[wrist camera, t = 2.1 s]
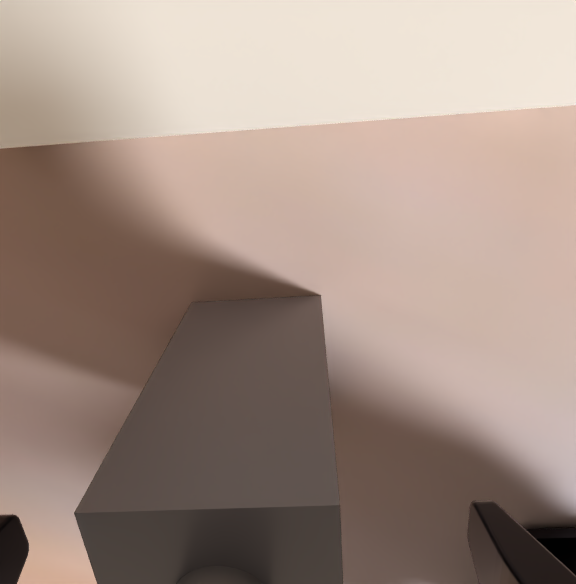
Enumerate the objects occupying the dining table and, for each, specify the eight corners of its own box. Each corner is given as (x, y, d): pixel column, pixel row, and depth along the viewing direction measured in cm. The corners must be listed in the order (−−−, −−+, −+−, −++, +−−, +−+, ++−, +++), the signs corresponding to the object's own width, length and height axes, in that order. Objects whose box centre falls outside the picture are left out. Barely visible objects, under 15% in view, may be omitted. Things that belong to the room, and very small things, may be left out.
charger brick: (320, 295, 14) (349, 608, 5) (326, 404, 16) (355, 788, 7) (191, 302, 14) (17, 614, 6) (209, 409, 16) (92, 787, 7)
